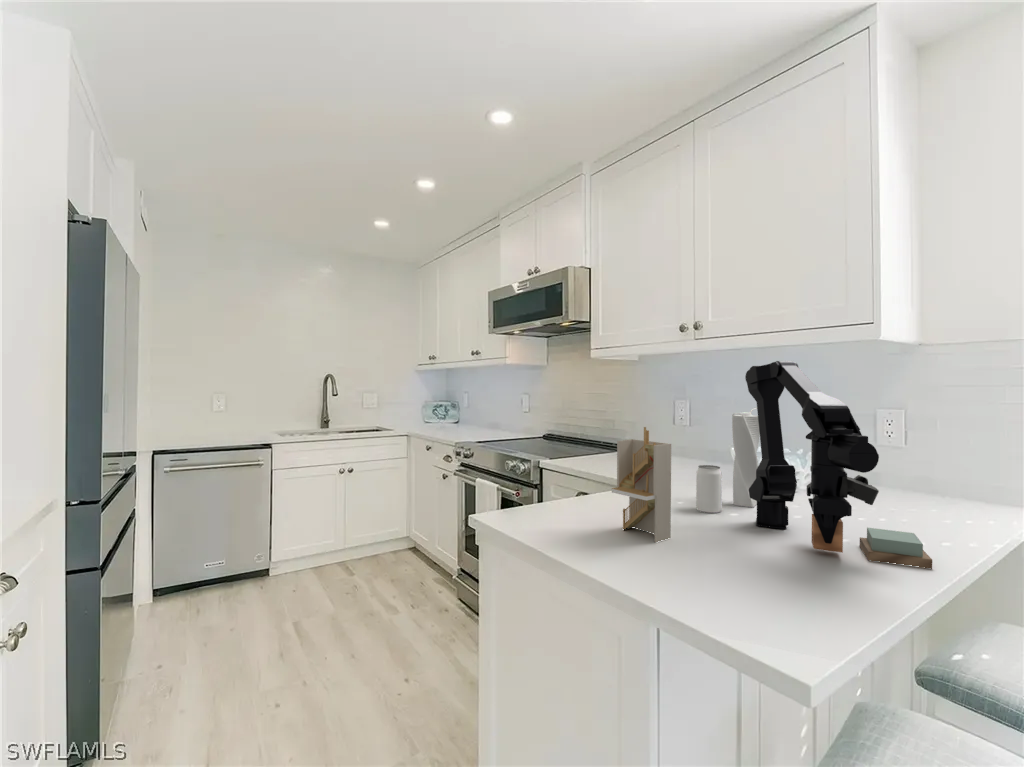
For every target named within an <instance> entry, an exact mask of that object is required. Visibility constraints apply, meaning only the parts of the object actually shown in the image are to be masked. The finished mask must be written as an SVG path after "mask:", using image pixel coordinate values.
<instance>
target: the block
mask: <svg viewBox="0 0 1024 767" xmlns="http://www.w3.org/2000/svg"><path fill="white" fill-rule="evenodd" d="M811 544H812V549H813V550H820V551H828V552H836V553H843V552H844V550H843V549H844V547H843V546H844V522H843V519H842V518H841V519H840V520H839V521H838V523H837V526H836V530H835V533H834V536H833V540H832V543H831V544H829V543H825V541H824V539H823V536H822V534H821V531H820V529H819V526H818V524H817V521H816V519H815V516H814V514H813V513H811Z"/></svg>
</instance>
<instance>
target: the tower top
mask: <svg viewBox="0 0 1024 767" xmlns="http://www.w3.org/2000/svg"><path fill="white" fill-rule="evenodd" d="M866 538H867V541H868V543H869V545H870V547H871V549H872V550H874V551H881V552H889V553H896V554H903V555H911V556H918V557H923V550H924V544H923V542H922V541H921V540H920V539H919V538H918V536H917V534H916V533H914V532H909V531H902V530H901V531H899V530H898V531H897V530H891V529H883V528H874V527H866Z"/></svg>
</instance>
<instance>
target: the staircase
mask: <svg viewBox="0 0 1024 767" xmlns="http://www.w3.org/2000/svg"><path fill="white" fill-rule="evenodd" d="M616 445H617V446H616V455H617V456H616V487H611V493H614V494H618V495H622V496H627V497H628V498H629V500H628V503H629V505H628V506H627V507H626V508H622V528H623V529H625V530H627V529H626V528H628V529H632V528H631V527H635V528H638V529H641V530H644V531H648V532H651V533H654V534H655V535H654V534H653V535H654V543H655V542H658V541H661V540H665V539H668V538H672V536H671V534H672V533H671V532H672V530H671V528H672V523H671V522H672V521H671V520H672V513H671V512H672V443H669V442H668V443H666V442H660V441H650V431H649V430H648V429H647V426H643V439H642V440H641V439H635V438H633V439H630V438H629V439H621V440H617V441H616ZM668 540H669V539H668ZM665 541H666V540H665ZM661 542H662V541H661ZM658 543H659V542H658Z"/></svg>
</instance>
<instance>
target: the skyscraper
mask: <svg viewBox="0 0 1024 767" xmlns="http://www.w3.org/2000/svg"><path fill="white" fill-rule="evenodd" d="M754 410H757V406H756V407H752V409H750V411H746V412H744V411H743V412H742V411H741V412H733V413H732V414H731V415H732V416H731V420H732V422H731V424H732V425H731V426H732V427H731V428H732V430H731V431H732V442H733V451H734V461H733V472H732V474H733V475H732V476H733V477H732V502H733V504H732V505H734V506H739V507H747V508H753V509H754V508H755V507H757V501H756V500H754V499H751V498H750V496H749V488H750V487H751V485H752V484H753V482H754V481H755V479H756V470H757V468H758V466H759V463H758V456H757V455H758V452H757V451H758V448H759V442H760V432H759V422H758V415H753V413H752V412H753V411H754Z"/></svg>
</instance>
